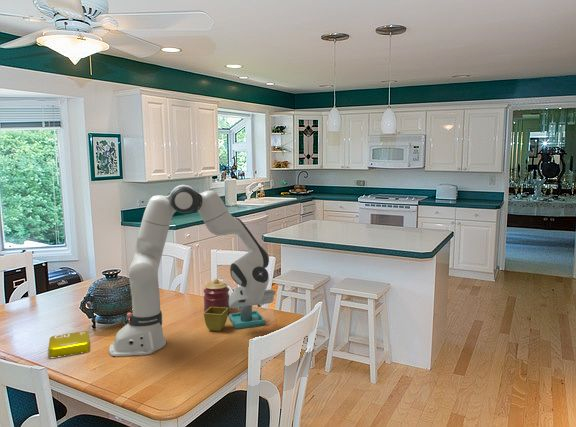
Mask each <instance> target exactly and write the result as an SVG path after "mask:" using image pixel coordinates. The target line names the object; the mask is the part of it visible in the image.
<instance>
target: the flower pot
mask: <svg viewBox="0 0 576 427" xmlns="http://www.w3.org/2000/svg"><path fill="white" fill-rule="evenodd" d="M228 315H229V313H228V308H223V307H210V308H209V309H208V310H207V311H206V312H204V311H203V317H204V322H205V326H206V328H207V329H208V330H209V331H210V332H221V331H222V330H223V328H224V327H225V326H226V323H227V319H228Z"/></svg>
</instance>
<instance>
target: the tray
mask: <svg viewBox="0 0 576 427" xmlns="http://www.w3.org/2000/svg"><path fill="white" fill-rule="evenodd" d="M228 319H229V321H230V322H231V324H232V326H233V328H234V330H239V329H247V328H255V327H261V326H265V325H266V323H265V319H264V317H263V316H262V315H261V314H260V312H259V311H258V310H252V321H249V322H243V321H241V317H240V312H235V313H234V312H232V313H228Z"/></svg>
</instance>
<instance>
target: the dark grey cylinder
mask: <svg viewBox="0 0 576 427" xmlns="http://www.w3.org/2000/svg"><path fill="white" fill-rule="evenodd" d="M252 311H253V305H251V306H243V307H241V309H240V312H239V313H240V317H241V321H243V322H249V321H252Z"/></svg>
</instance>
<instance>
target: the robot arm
mask: <svg viewBox="0 0 576 427" xmlns="http://www.w3.org/2000/svg"><path fill="white" fill-rule="evenodd" d="M177 212H178V213H181V214H188V213H194V212H197V213H198V214H199V215H200V217H201V219H202V221H203V223H204V225H205V226H206V228H207V230H208V231H209V232H210V233H211V234H213V235H215V236H227V235H236V236H238V237H239V238H240V239H241V242H243V244H244V245H245V247H246V248H247V249H248V252H247V253H245V254H243V255H242V256H241V257H239V258H238V259H236V260H235V261H233V262H232V263H231V264H230V268H229V269H230V270H229V272H230V277H231V278H232V280H233V281H234V282H235V283H236V284H237V285H239V286H236V287H234V288H233V292H231V294H229V295H230V297H229V306H230V309H231V308H232V309H234V308H237V310H238V311H239V310H240V309H241V307H243V306H251V305H252V306H257V308H262V306H264V305H268V304H272V303H273V302H274V301H275V300H274V299H275V295H276V293H277V291H276V290H273V289H267V288H268V285H269V280H270V274H269V272H268V270H267V269H266V268H267V267H268V266H269V263H270V256H269V254H268V252H267V250H265V249H264V248H263V247H262V245H260V243H259V242H258V240H257V239H256V237H255V236H254V235H253V234H252V232H251V230H250V229H249V227H247V226H246V224H245V223H244V222H243V220H241V218H238V217H234V216H233V215H232V214H231V213H230V211H229V210H228V207H227V206H226V204H225V202H224V200H222V199H221V196H219V194H218V193H217V192H216V191H214V190H205V191H202V192H198V191H196V190H195V188H194V187H193V186H191V185H190V184H188V183H187V184H186V183H180V184H178V185H177V186H175V187H174V188H173V189H171V191H170V192H169V193H168V194H166V195H161V194H160V195H159V194H157V195H153V196H151V197H150V199H149V200H148V203H147V205H146V206H145V210H144V212H143V216H142V219H141V223H140V226H139V231H138V234H137V237H136V238H137V240H136V244H135V249H134V253H133V257H132V260H131V263H130V265H129V266H128V279H129V280H128V281H129V287H130V293H131V304H132V305H131V307H132V312H127V314H126V319H127V323H126V325H124V326H123V327H122V328H121V329H119V330H118V331H117V332H116V335H115V337H114V341H113V342H112V343H111V344H110V345H109V346H108V347H109V349H108V353H109V355H110V356H111V357H113V356H115V357H129V356H144V355H151V354H154V353H155V352H156V351H158V350H160V349H162V348H164V347H165V346H166V344H167V341H166V338H165V335H164V331H163V312H162V310H161V294H160V286H159V284H160V283H159V267H160V263H161V259H162V256H163V252H164V249H165V244H166V242H167V238H168V233H169V229H170V225H171V221H172V218H173V216H174V214H175V213H177ZM115 357H114V358H115Z"/></svg>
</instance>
